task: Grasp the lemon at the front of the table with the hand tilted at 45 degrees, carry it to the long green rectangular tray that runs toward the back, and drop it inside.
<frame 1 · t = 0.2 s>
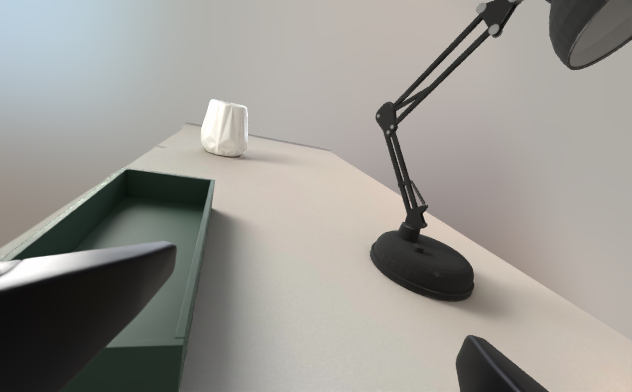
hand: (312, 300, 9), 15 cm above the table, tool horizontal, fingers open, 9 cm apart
green rectangular tray: (138, 258, 32), on the table
desk lamp: (422, 272, 45), on the table
vase: (222, 152, 92), on the table
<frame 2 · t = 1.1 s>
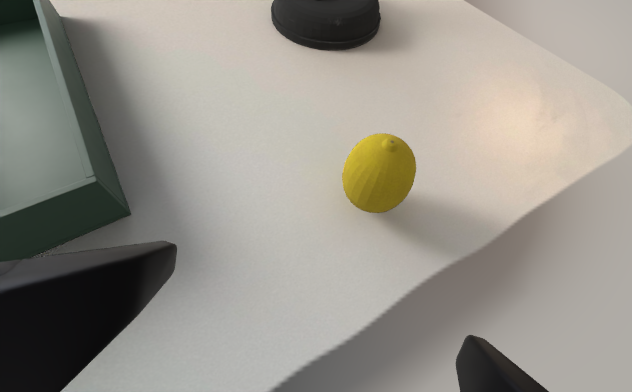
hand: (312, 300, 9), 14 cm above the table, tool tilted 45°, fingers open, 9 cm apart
green rectangular tray: (15, 113, 29), on the table
desk lamp: (329, 22, 42), on the table
lemon: (366, 201, 27), on the table
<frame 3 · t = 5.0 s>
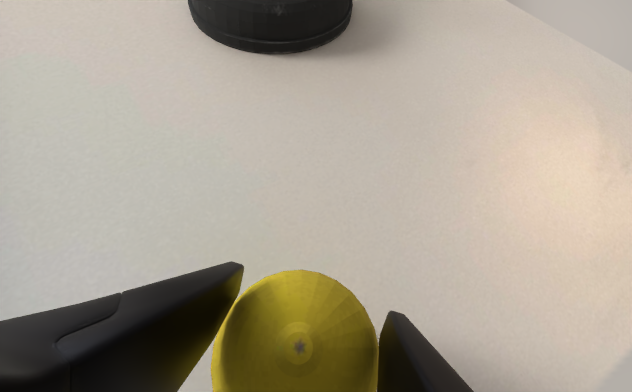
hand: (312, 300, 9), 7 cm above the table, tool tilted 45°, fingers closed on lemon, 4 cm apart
desk lamp: (278, 11, 29), on the table
lemon: (296, 357, 14), on the table, touching gripper
when the fingers open (9 cm above the table, at t = 12.5 s): lemon drops 2 cm, resting on green rectangular tray.
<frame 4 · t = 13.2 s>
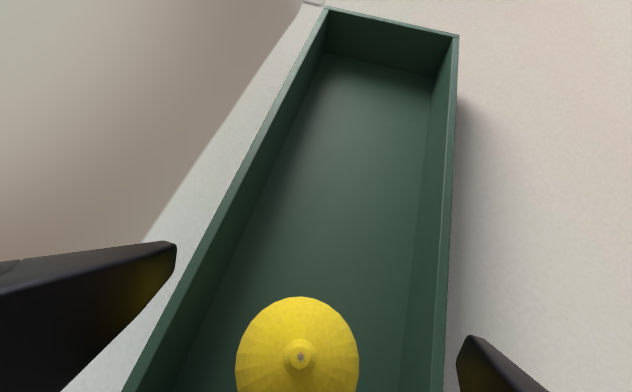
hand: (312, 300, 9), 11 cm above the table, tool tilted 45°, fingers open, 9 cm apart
green rectangular tray: (343, 190, 24), on the table
lemon: (296, 363, 17), resting on green rectangular tray
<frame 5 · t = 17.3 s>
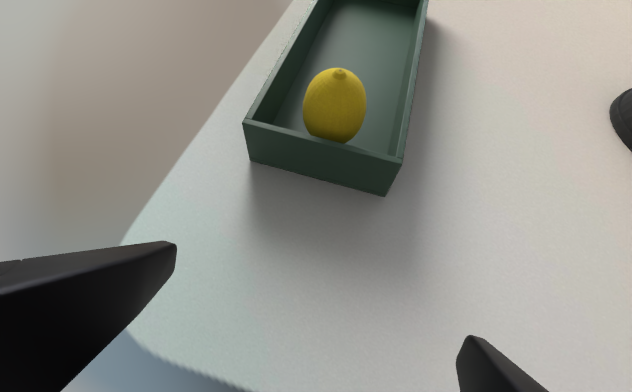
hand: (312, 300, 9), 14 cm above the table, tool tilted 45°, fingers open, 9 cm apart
green rectangular tray: (353, 69, 36), on the table
lemon: (329, 141, 29), resting on green rectangular tray
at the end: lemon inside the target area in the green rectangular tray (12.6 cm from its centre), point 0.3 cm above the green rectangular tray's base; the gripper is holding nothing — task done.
